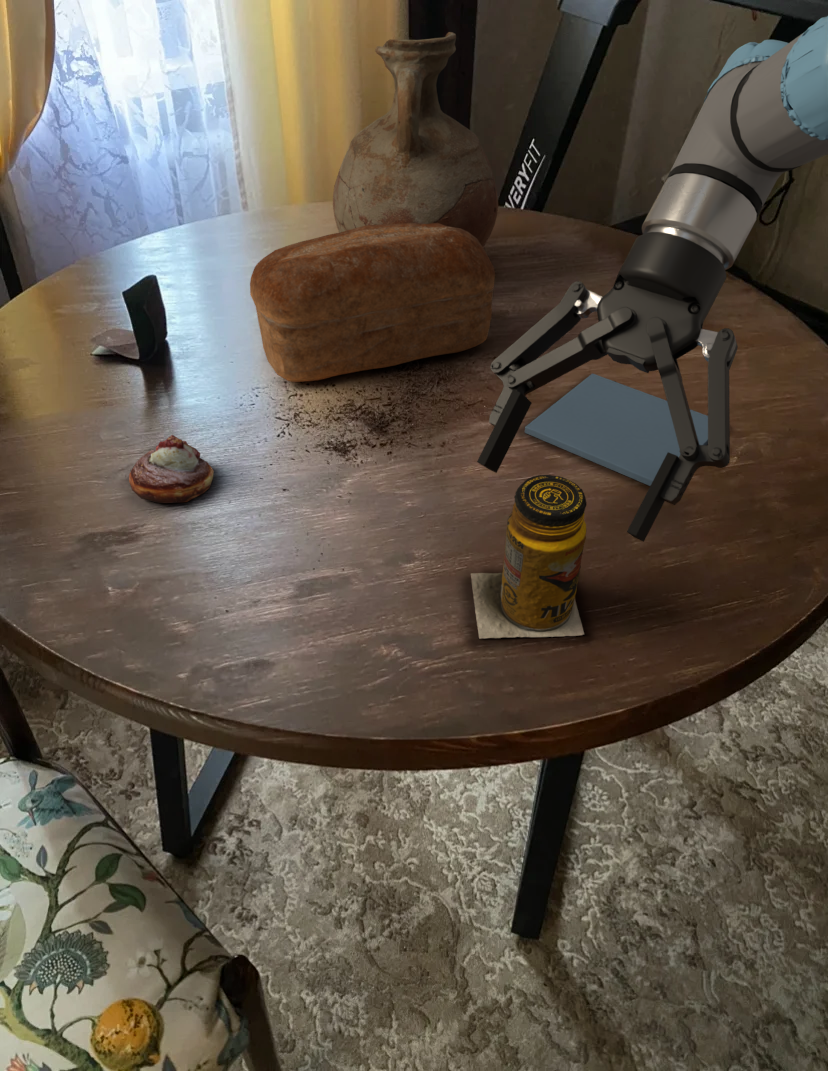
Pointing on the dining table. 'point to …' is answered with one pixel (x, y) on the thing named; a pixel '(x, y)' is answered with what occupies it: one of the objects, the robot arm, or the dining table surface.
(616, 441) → the sauce mat
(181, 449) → the pastry
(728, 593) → the dining table surface
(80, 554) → the dining table surface
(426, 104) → the jug
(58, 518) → the dining table surface
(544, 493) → the condiment
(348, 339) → the bread
